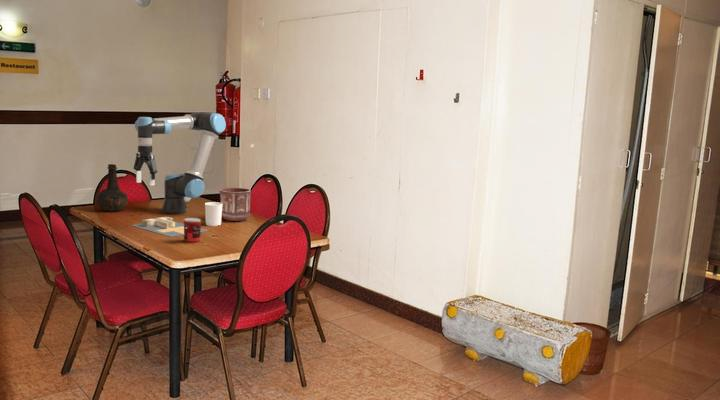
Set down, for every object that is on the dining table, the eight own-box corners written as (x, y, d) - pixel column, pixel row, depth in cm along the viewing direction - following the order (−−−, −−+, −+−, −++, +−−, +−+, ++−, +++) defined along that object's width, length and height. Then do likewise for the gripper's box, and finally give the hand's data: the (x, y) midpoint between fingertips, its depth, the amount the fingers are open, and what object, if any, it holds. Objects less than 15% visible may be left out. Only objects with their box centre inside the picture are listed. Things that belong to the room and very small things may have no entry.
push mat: (169, 220, 350) (169, 219, 350) (209, 230, 328) (209, 230, 328) (131, 225, 331) (131, 225, 331) (170, 237, 309) (170, 236, 309)
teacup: (186, 204, 403) (186, 192, 402) (171, 202, 405) (171, 190, 404) (196, 201, 417) (196, 189, 415) (181, 199, 419) (181, 188, 417)
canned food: (185, 239, 307) (185, 217, 305) (201, 239, 308) (201, 218, 306) (182, 242, 299) (182, 220, 298) (199, 243, 300) (199, 221, 298)
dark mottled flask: (111, 206, 381) (111, 161, 376) (134, 209, 375) (134, 164, 370) (89, 210, 364) (88, 164, 360) (113, 214, 358) (112, 166, 354)
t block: (167, 221, 344) (167, 216, 344) (183, 226, 335) (183, 220, 335) (141, 225, 332) (141, 219, 331) (158, 230, 323) (158, 224, 322)
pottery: (230, 215, 372) (230, 186, 369) (255, 219, 366) (256, 189, 362) (213, 220, 355) (213, 190, 352) (239, 224, 349) (240, 193, 346)
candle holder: (225, 224, 347) (226, 203, 345) (216, 227, 338) (216, 205, 336) (210, 222, 350) (211, 201, 349) (200, 225, 341) (201, 203, 339)
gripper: (126, 143, 341) (127, 181, 344) (151, 147, 326) (152, 187, 329) (138, 143, 346) (139, 180, 350) (164, 147, 332) (164, 186, 335)
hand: (145, 184), depth 340 cm, fingers open, 12 cm apart
